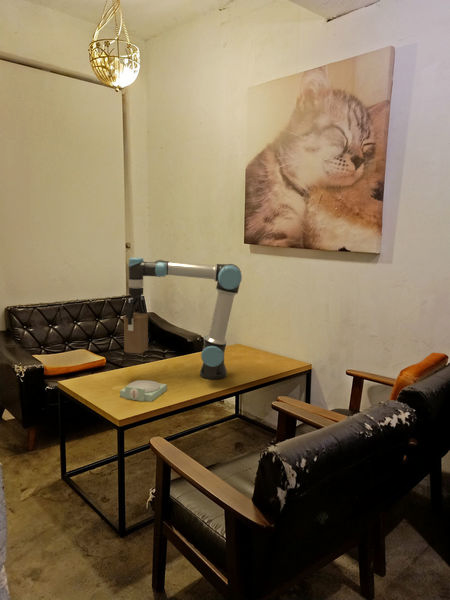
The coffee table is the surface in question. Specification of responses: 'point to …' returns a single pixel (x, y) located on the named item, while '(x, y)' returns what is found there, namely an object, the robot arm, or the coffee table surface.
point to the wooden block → (136, 334)
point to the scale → (143, 390)
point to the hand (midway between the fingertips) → (136, 328)
